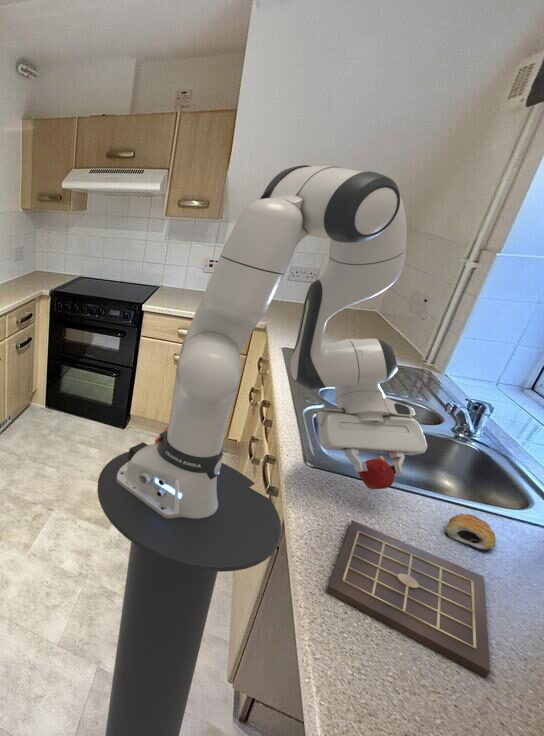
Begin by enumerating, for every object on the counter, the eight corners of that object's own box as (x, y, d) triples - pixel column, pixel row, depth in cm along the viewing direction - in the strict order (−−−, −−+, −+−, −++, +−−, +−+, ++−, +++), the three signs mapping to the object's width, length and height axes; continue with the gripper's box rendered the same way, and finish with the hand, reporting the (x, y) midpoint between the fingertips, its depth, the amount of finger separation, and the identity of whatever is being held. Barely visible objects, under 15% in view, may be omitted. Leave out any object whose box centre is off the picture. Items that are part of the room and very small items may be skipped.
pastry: (450, 515, 89) (457, 500, 87) (496, 534, 84) (504, 519, 82) (442, 535, 83) (449, 520, 82) (490, 557, 78) (499, 541, 77)
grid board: (327, 592, 70) (329, 585, 70) (349, 525, 85) (352, 519, 85) (485, 678, 58) (490, 670, 57) (480, 582, 73) (484, 575, 72)
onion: (391, 491, 88) (405, 459, 85) (382, 501, 85) (395, 468, 82) (360, 476, 92) (371, 446, 90) (349, 485, 89) (361, 454, 87)
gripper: (323, 402, 90) (337, 467, 84) (421, 408, 89) (443, 474, 83) (306, 410, 96) (319, 471, 90) (399, 416, 94) (417, 478, 89)
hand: (379, 473), depth 87 cm, fingers closed on onion, 5 cm apart
